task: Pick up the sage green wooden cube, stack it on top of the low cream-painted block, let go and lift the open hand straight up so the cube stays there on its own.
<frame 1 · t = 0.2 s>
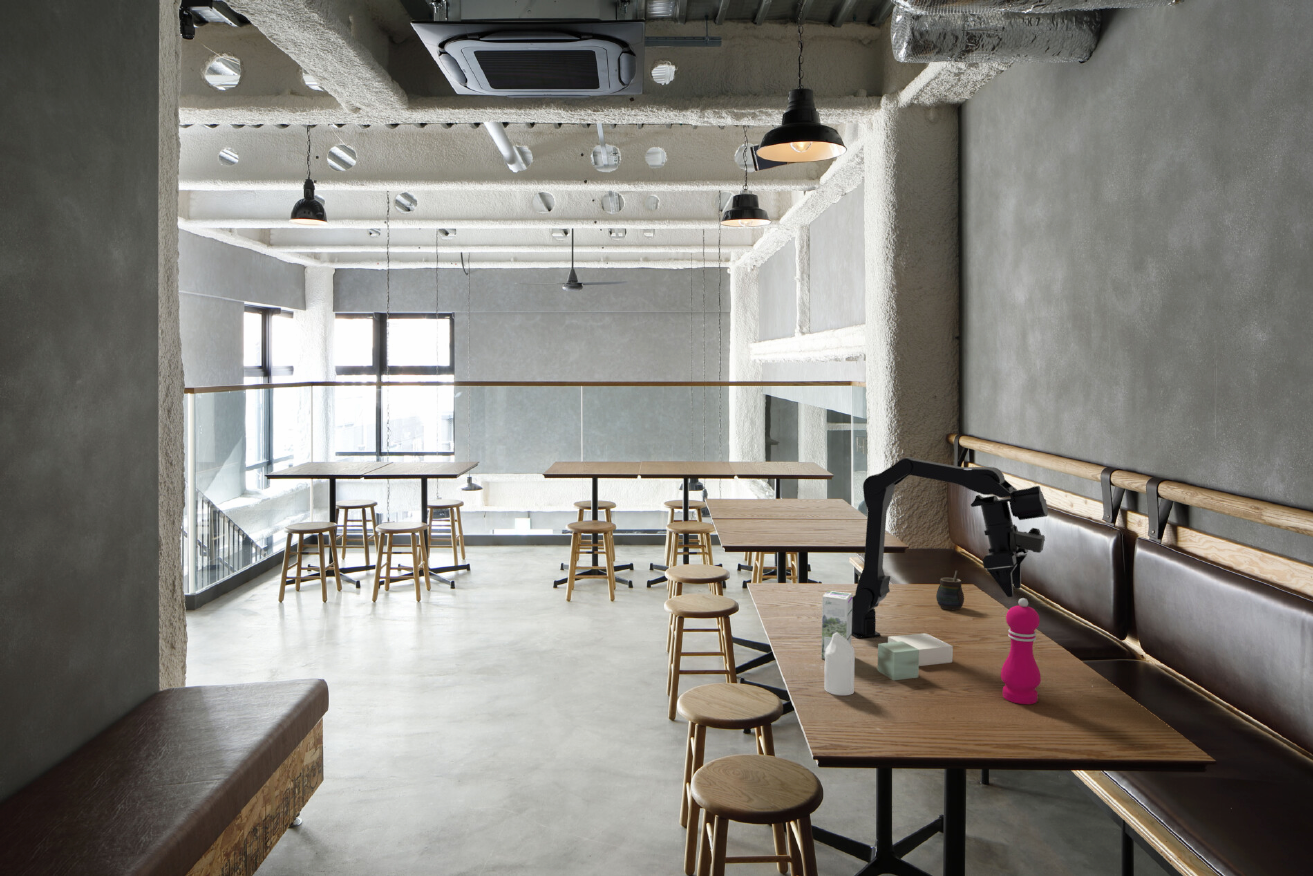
hand: (1014, 592, 185), 15 cm above the table, tool pointing down, fingers open, 9 cm apart
pepper mill: (1019, 699, 164), on the table
cream block: (919, 658, 188), on the table
mate gourd: (949, 608, 230), on the table
white bottle: (838, 691, 167), on the table
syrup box: (836, 658, 188), on the table
green cube: (897, 674, 177), on the table
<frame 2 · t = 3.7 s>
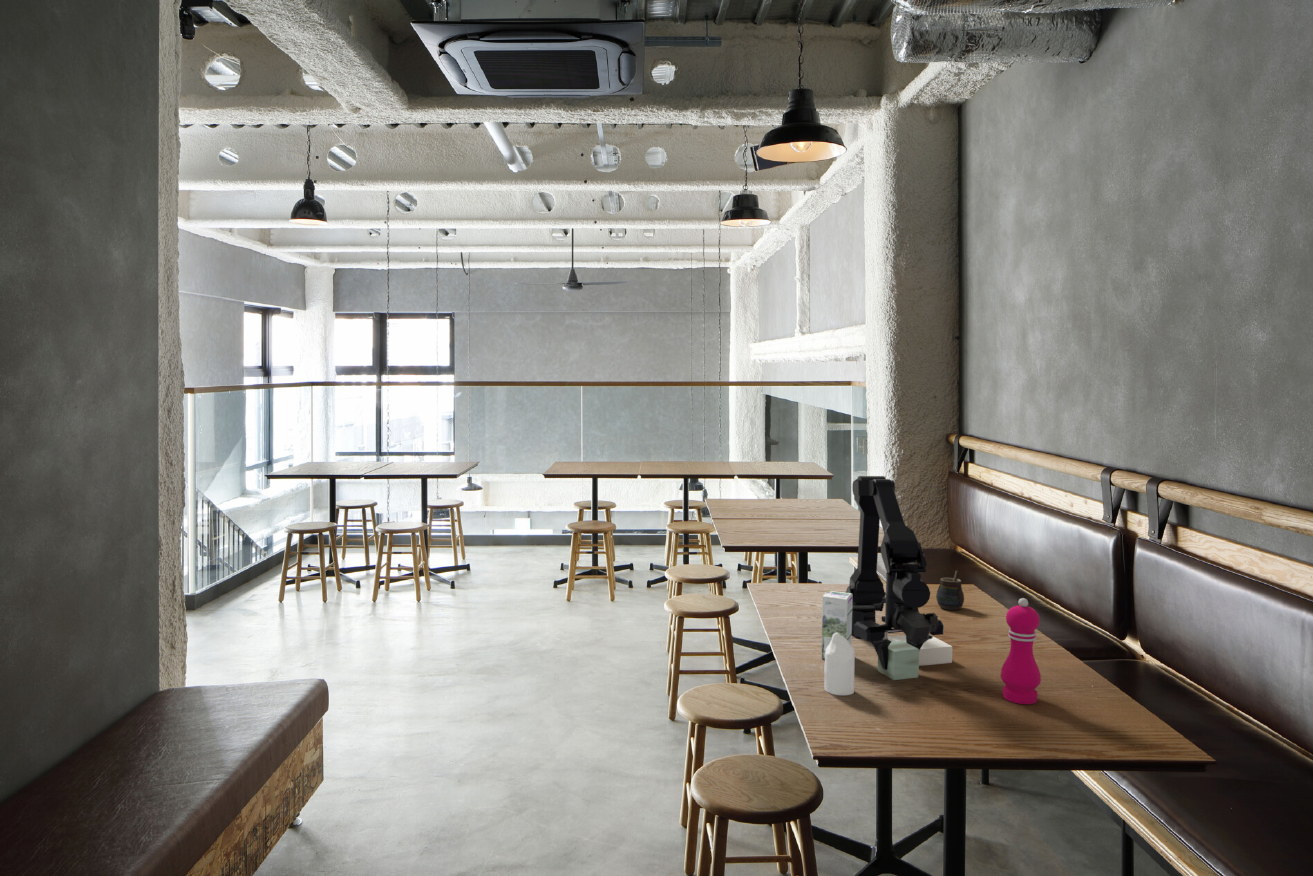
hand: (897, 667, 177), 1 cm above the table, tool pointing down, fingers closed on green cube, 6 cm apart
green cube: (897, 674, 177), on the table, touching gripper
everything else where it was.
when the fingers open (6 cm above the table, at t = 8.4 s): green cube drops 1 cm, point 4 cm above the table.
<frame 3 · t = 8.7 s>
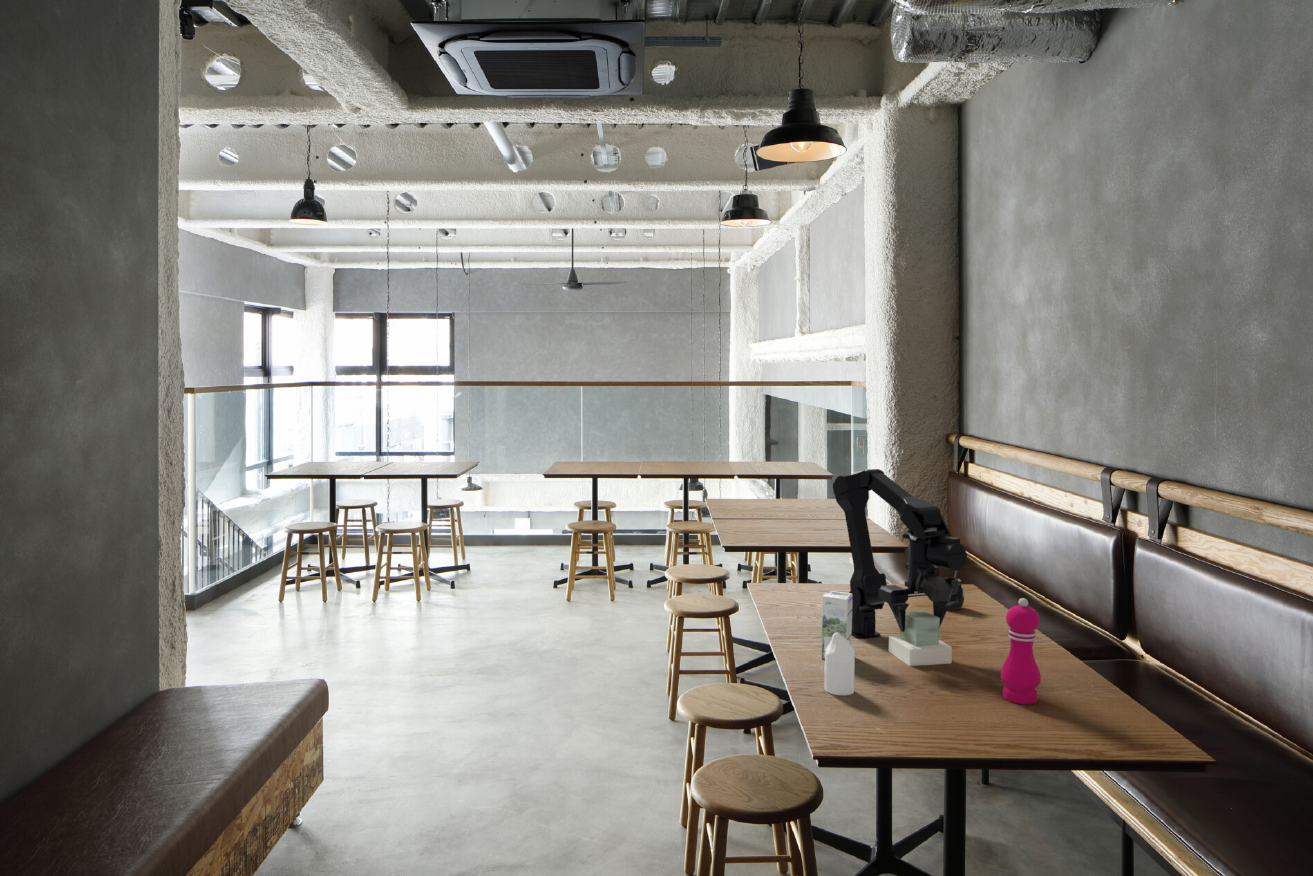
hand: (920, 629, 188), 6 cm above the table, tool pointing down, fingers open, 9 cm apart
green cube: (919, 641, 188), point 4 cm above the table
everything else where it was.
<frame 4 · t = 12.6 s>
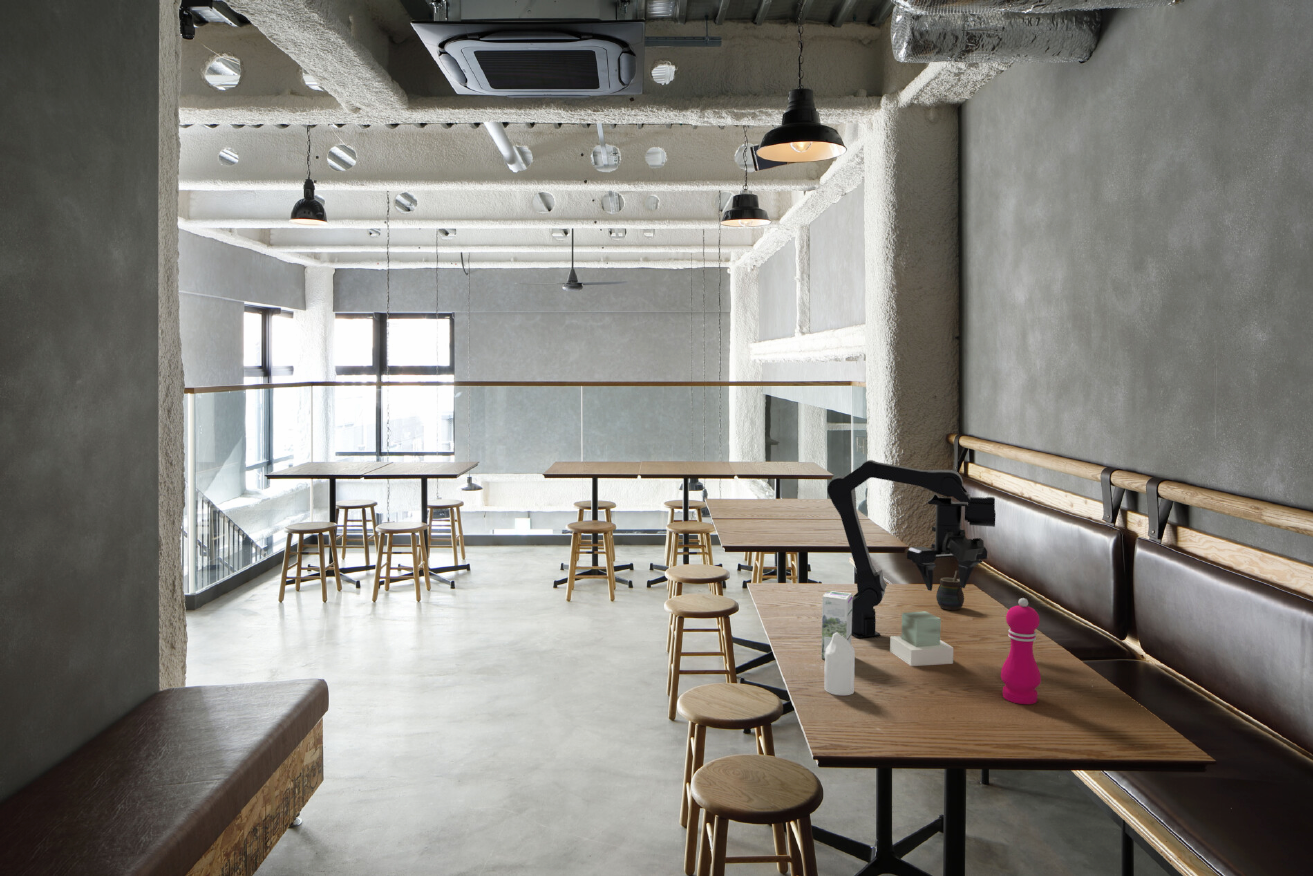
hand: (946, 589, 198), 13 cm above the table, tool pointing down, fingers open, 9 cm apart
cream block: (920, 659, 188), on the table, touching green cube
green cube: (920, 641, 188), point 4 cm above the table, touching cream block
everything else where it was.
at the end: green cube inside the target area on the cream block (0.2 cm from its centre), point 4.0 cm above the cream block's base; green cube tilted 0°; the gripper is holding nothing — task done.
